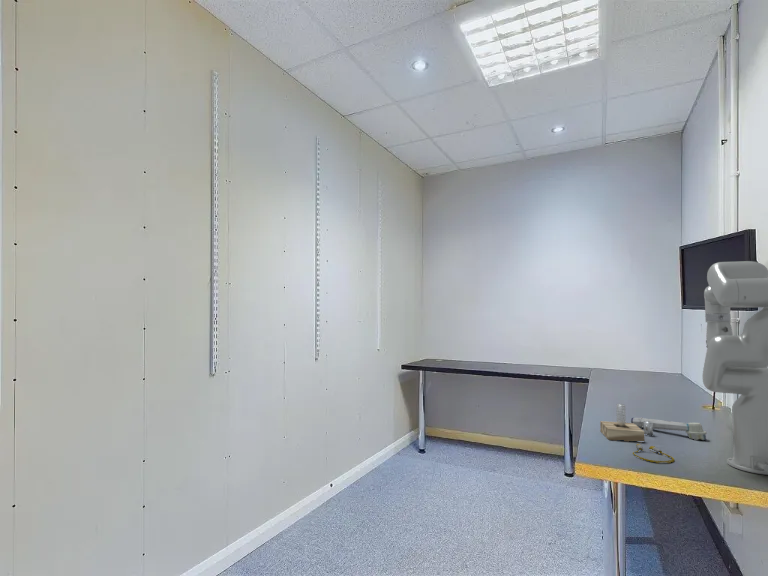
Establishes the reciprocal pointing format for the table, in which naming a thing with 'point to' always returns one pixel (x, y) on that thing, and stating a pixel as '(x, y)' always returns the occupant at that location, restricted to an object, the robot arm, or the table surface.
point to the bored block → (621, 431)
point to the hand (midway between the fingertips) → (719, 364)
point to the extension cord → (654, 450)
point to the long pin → (621, 415)
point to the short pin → (648, 427)
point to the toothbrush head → (674, 427)
